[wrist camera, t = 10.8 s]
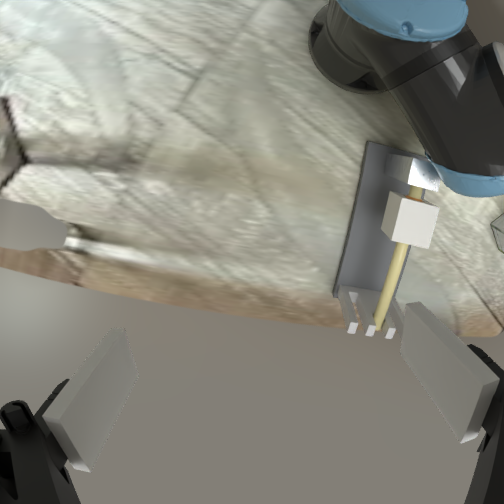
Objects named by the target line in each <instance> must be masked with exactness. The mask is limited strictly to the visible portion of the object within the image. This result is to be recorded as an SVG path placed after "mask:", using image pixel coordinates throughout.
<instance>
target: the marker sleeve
mask: <svg viewBox="0 0 504 504" xmlns="http://www.w3.org/2000/svg"><path fill="white" fill-rule="evenodd" d="M439 209H440V208H439V207H437V206H435V205H433V204H432V203H430V202H428V201H426V200H423V199H422V202H420V201H416V200H412V199H409V198H406V195H405V194H401V193H397V192H393V191H390V192H389V197H388V201H387V205H386V210H385V214H384V218H383V222H382V226H381V230H382V231H383V232H384V233H385V234H386V235H387V236H388V237H389V239H390V240H391V241H395V242H400V243H405V244H409V245H414V246H418V247H423V248H427V249H429V245H430V242H431V239H432V235H433V231H434V228H435V224H436V220H437V217H438V213H439Z"/></svg>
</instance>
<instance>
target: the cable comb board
mask: <svg viewBox="0 0 504 504" xmlns="http://www.w3.org/2000/svg"><path fill="white" fill-rule="evenodd" d="M440 180H441V178H440V176H439V174H438V172H437V171H436V169H435V167H434V165H433V164H432V163H431V162H430V161H429V160H428V158H427V157H423V156H420V155H417V154H413V153H410V152H406V151H403V150H399V149H396V148H392V147H388V146H385V145H381V144H377V143H373V142H368V141H367V144H366V149H365V155H364V160H363V165H362V171H361V176H360V181H359V185H358V190H357V195H356V200H355V204H354V209H353V213H352V218H351V222H350V226H349V231H348V235H347V239H346V243H345V247H344V251H343V255H342V259H341V263H340V267H339V271H338V274H337V278H336V282H335V286H334V289H333V297H335V298H339V300H340V304H341V308H342V312H343V317H344V321H345V325H346V330H347V333H352V334H354V333H355V331H356V328H357V326H358V321H357V317H356V314H355V310H354V307H353V304H352V302H355V304H356V307H357V310H358V313H359V316H360V319H361V322H362V326H363V329H364V332H365V335H366V336H373V334H374V331H375V330H380V329H382V331H383V334H384V336H385V338H388V339H392V337H393V335H394V332H395V330H396V329H397V331H398V333H399V335H400V337H401V339H402V336H403V327H404V318H405V316H404V314H403V312H402V310H401V308H400V307H399V305H398V303H397V301H396V298H395V295H396V292H397V289H398V286H399V283H400V280H401V277H402V274H403V271H404V268H405V264H406V261H407V258H408V255H409V251H410V248H411V245H409V244H405V243H400V242H395V241H391V240H390V239H389V237H388V236H387V235H386V234H385V233H384V232H383V231H382V230H381V226H382V222H383V218H384V214H385V210H386V205H387V201H388V197H389V192H390V191H393V192H397V193H401V194H405V195H406V198H409V199H412V200H416V201H420V202H422V199H423V198H424V194H425V190H426V189H429V190H432V191H436V192H438V189H439V184H440ZM388 312H389V313H388ZM389 314H390V315H389ZM390 316H391V317H390ZM391 318H392V319H391ZM392 320H393V321H392ZM393 322H394V323H393ZM394 324H395V325H394ZM395 327H396V328H395Z"/></svg>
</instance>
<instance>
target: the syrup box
mask: <svg viewBox="0 0 504 504" xmlns="http://www.w3.org/2000/svg"><path fill="white" fill-rule="evenodd" d="M491 227H492V230H493V233H494V236H495V239H496V242H497V245H498V248H499V250H500V251H501V252H502V253H504V214H503V215H501V216H500V217H499V218H498V219H496V220H495V221H494V222H492V223H491Z"/></svg>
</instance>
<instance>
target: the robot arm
mask: <svg viewBox="0 0 504 504" xmlns="http://www.w3.org/2000/svg"><path fill="white" fill-rule="evenodd" d="M467 16H468V6H467V5H466V0H329V4H328V5H326V6H325V7H323V8H322V9H321V10H320V11H319V12H318V13H317V15H316V16H315V18H314V19H313V21H312V24H311V27H310V32H309V49H310V53H311V56H312V59H313V61H314V63H315V64H316V66H317V68H318V69H319V70H320V71H321V73H322V74H323V75H324V76H325V77H326V78H327V79H329V80H330V81H331V82H333V83H334V84H336V85H337V86H339V87H341V88H343V89H345V90H348V91H351V92H355V93H360V94H375V93H380V92H383V91H386V90H388V89H389V92H390V93H391V95H392V96H393V98H394V99H395V101H396V102H397V104H398V105H399V107H400V109H401V110H402V112H403V113H404V115H405V117H406V118H407V120H408V122H409V123H410V125H411V127H412V128H413V130H414V132H415V133H416V135H417V137H418V139H419V140H420V142H421V144H422V146H423V148H424V149H425V154H426V157H427V158H428V160H429V161H430V162H431V163H432V164H433V165H434V167H435V169H436V171H437V172H438V174H439V176H440V178H441V180H442V181H443V183H444V184H445V185H446V186H447V187H449V188H450V189H451V190H453V191H454V192H456V193H458V194H461V195H464V196H468V197H493V196H499V195H503V194H504V44H503V43H500V42H498V41H495V42H493V43H491V44H488V45H487V46H484V47H482V46H481V45H480V44H479V42H478V41H477V39H476V38H475V36H474V35H473V33H472V32H471V30H470V29H469V27H468V25H467V24H466V23H465V22H466V19H467ZM400 354H401V355H402V357H403V358H404V360H405V361H406V363H407V364H408V365H409V367H410V368H411V370H412V371H413V373H414V374H415V375H416V377H417V379H418V380H419V381H420V383H421V384H422V386H423V387H424V389H425V390H426V392H427V393H428V395H429V396H430V398H431V399H432V401H433V402H434V404H435V405H436V407H437V408H438V410H439V411H440V413H441V414H442V416H443V417H444V419H445V420H446V422H447V424H448V425H449V427H450V428H451V430H452V431H453V433H454V435H455V436H456V438H457V439H458V441H459V443H460V444H461V443H463V442H466V441H468V440H471V439H474V438H476V437H477V435H478V433H479V431H480V428H481V426H482V427H483V428H484V429H485V431H486V434H485V436H484V438H483V440H482V442H481V444H480V446H479V448H478V450H477V452H480V454H479V458H478V462H477V466H476V469H475V472H474V476H473V479H472V482H471V485H470V488H469V491H468V494H467V497H466V500H465V503H464V504H504V371H503V370H502V369H501V368H500V367H499V366H498V365H497V364H496V363H495V362H493V360H492V359H491V358H490V357H488V355H487V354H486V353H485V352H484V351H483V350H482V349H480V348H478V347H476V346H474V345H472V344H470V345H465V344H464V343H463V342H462V341H461V340H460V339H459V338H458V337H457V336H456V335H455V334H454V333H453V332H452V331H451V330H450V329H449V328H448V327H447V326H446V325H445V324H443V323H442V322H441V321H440V320H439V319H438V318H437V317H436V316H435V315H434V314H433V313H432V312H431V311H429V310H428V309H427V308H426V307H425V306H424V305H423V304H422V303H421V302H414V303H408V304H406V307H405V318H404V327H403V336H402V344H401V352H400ZM138 377H139V374H138V371H137V368H136V365H135V361H134V358H133V355H132V351H131V348H130V345H129V341H128V337H127V334H126V330H125V328H111V329H110V330H109V332H108V333H107V334H106V335H105V336H104V338H103V339H102V340H101V342H99V344H98V345H97V346H96V347H95V349H94V350H93V351H92V352H91V354H90V355H89V356H88V357H87V359H86V360H85V361H84V362H83V364H82V365H81V366H80V367H79V369H78V370H77V371H76V372H75V374H74V375H73V376H72V377H71V379H66V380H65V381H63V382H62V383H60V384H59V385H58V386H57V387H56V388H55V389H54V391H53V392H52V394H51V395H50V396H49V397H48V400H46V401H45V402H44V403H43V405H42V406H41V407H40V409H39V410H38V411H37V412H36V414H35V415H34V416H33V414H32V412H31V410H30V409H29V407H28V405H27V403H26V402H24V401H20V400H16V401H11V402H9V403H7V404H6V405H4V406H3V407H2V408H1V410H0V419H1V421H2V423H3V424H4V426H5V428H6V430H5V429H4V430H1V429H0V504H81V503H80V501H79V498H78V496H77V493H76V491H75V488H74V486H73V484H72V481H71V478H70V475H69V473H68V471H67V469H66V467H65V466H64V465H65V463H66V461H67V459H68V460H69V461H70V463H71V464H72V466H73V467H74V468H75V469H78V470H82V471H87V472H91V471H92V469H93V467H94V465H95V463H96V461H97V458H98V456H99V454H100V452H101V450H102V448H103V446H104V444H105V442H106V440H107V438H108V436H109V434H110V432H111V430H112V427H113V426H114V424H115V422H116V420H117V418H118V416H119V414H120V412H121V410H122V408H123V406H124V404H125V402H126V400H127V398H128V396H129V394H130V392H131V390H132V388H133V386H134V384H135V382H136V381H137V379H138Z"/></svg>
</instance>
